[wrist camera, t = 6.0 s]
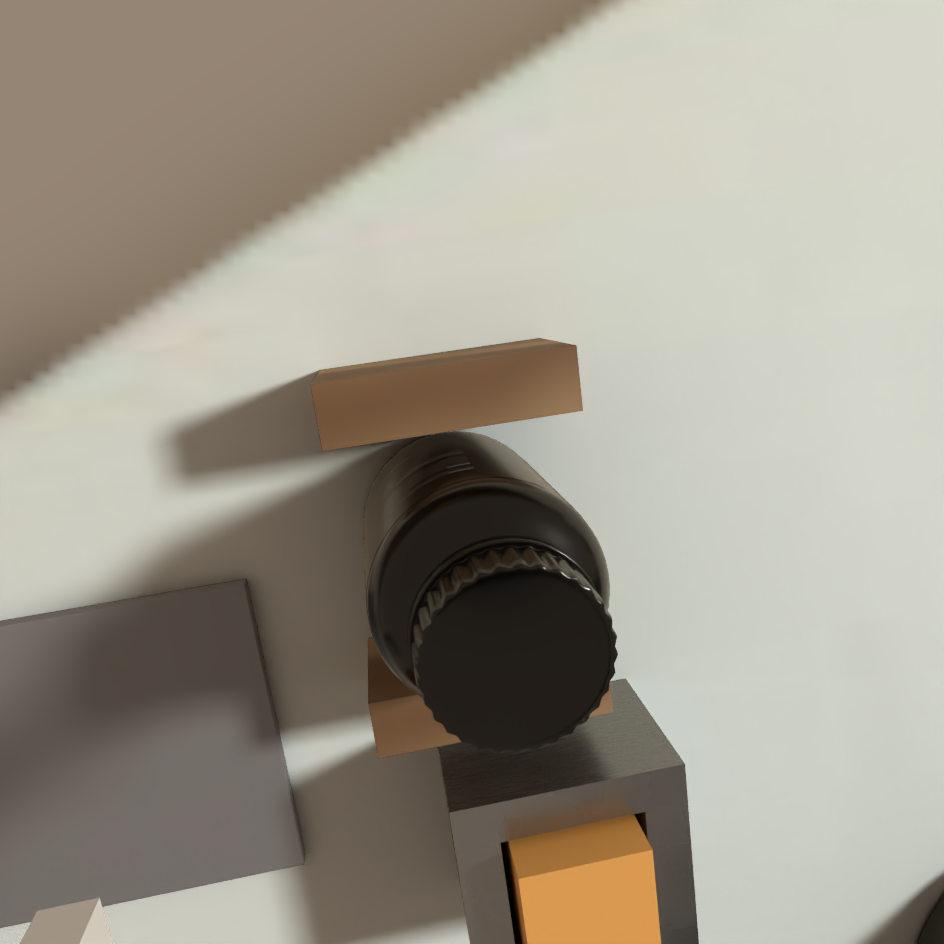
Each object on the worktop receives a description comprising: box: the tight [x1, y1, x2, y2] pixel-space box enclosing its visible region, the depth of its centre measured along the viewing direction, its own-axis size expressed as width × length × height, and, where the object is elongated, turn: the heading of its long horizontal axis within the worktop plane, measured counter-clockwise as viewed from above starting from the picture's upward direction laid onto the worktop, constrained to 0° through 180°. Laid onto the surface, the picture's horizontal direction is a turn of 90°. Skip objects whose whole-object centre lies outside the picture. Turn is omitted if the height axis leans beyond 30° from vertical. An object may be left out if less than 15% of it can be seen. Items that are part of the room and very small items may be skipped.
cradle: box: [310, 338, 613, 758], centre depth 27 cm, size 12×8×5 cm, turn 8°
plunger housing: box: [438, 679, 699, 944], centre depth 29 cm, size 8×8×6 cm
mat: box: [0, 579, 305, 928], centre depth 29 cm, size 12×12×1 cm
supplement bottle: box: [363, 431, 618, 753], centre depth 23 cm, size 7×7×12 cm
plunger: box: [500, 814, 661, 944], centre depth 28 cm, size 4×4×6 cm
